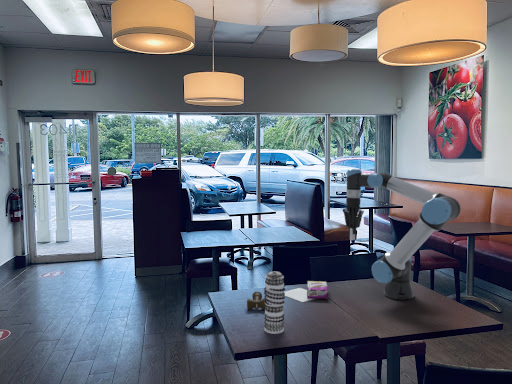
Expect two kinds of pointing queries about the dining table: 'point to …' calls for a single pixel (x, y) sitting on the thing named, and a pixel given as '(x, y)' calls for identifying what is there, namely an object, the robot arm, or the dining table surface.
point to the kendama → (256, 301)
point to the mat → (298, 295)
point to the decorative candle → (274, 303)
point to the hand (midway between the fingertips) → (352, 239)
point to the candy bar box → (317, 290)
